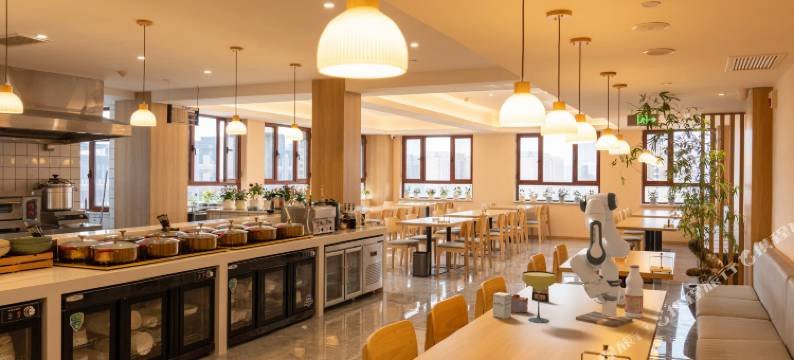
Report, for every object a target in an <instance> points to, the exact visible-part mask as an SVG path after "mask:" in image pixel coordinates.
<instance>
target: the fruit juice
mask: <svg viewBox="0 0 794 360" xmlns="http://www.w3.org/2000/svg"><path fill="white" fill-rule="evenodd" d="M629 269H630V270H629V273H628V275H627V276H626V278H625V285H626V286H625V290H624V291H625V304H624V317H627V318H634V319H638V318H639V319H641V318H643V316H644V288H643V285H644V279H643V278H642V275H641V273H640V265H637V264H630V266H629Z"/></svg>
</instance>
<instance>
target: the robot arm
mask: <svg viewBox="0 0 794 360" xmlns="http://www.w3.org/2000/svg"><path fill="white" fill-rule="evenodd" d="M578 206H579V209H580V211H581V212H582V213H584V222H585V227H586V229H587V230H588V231H589V246H588V248H587V250H586V253H585V254H583V253H582V254H579V253H577V254H575V255H573V256H572V257H571V259H570V261H569V266H570V268H571V269H572V271H573V273H574V274H575V275H576V276H577V277H578V278H579V280H580V281H581V284H582V287H583V290H584V292H585V293H586V295H587V297H588V298H590V299H593V301H595V302H596V303H599V304H602V302H603V303H606V302H607V301H606V299H604V298H603V297H602V296H605V295H609V296H615V297H617V305H619V306H620V305H621V306H623V305H624V306H625V290H624V288H622V287H621V283H622V279H619V273H620V271H619V266H618V264H616V263H615V261H614V260H613V259H612V258H617V259H618V258H626V257H628V256H629V255H630V252H631V245H630V243H629V242H628V241H626V240H625V239H624V238H623V236H622V235H621V234H620V233H619V231H618V230H617V226H616V221H615V216H614V211H615V210H616V209H617V208H618V206H619V199H618V196H617V195H616V193H614V192H599V193H593V194H586V195H585V194H584V195H581V197H580V198H579V202H578ZM596 271H599V272H598V273H596Z"/></svg>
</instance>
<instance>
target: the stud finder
mask: <svg viewBox="0 0 794 360" xmlns="http://www.w3.org/2000/svg"><path fill="white" fill-rule="evenodd" d="M602 297H603V298H604V299H606V301H607V302H606V303H603V302H602V303H601V306H602V307H601V313H602V315H606V316H611V317H614V316H616V315H617V297H615V296H609V295H605V296H602Z"/></svg>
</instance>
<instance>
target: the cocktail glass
mask: <svg viewBox="0 0 794 360" xmlns="http://www.w3.org/2000/svg"><path fill="white" fill-rule="evenodd" d="M521 279H522V281H523V283H525V284H527V285H528V286H530V287H531V288H534V289H535V290H536V291H537V292H538V301H537V304H538V305H537V315H536V317H529V318H527V320H528V321H529V322H530V323H537V324H546V323H549V322H550V321H549V319H547V318H544V317H541V315H540V313H541V312H540V301H539V295H540V292H541V291H542V290H543V289H544V288H546V287H548V288H549V287H551V286H553V285H554V284H555V283H556V282H557V280H558V279H557V274H556V273H555V272H551V271H545V270H528V271H527V270H526V271H523V272H521Z"/></svg>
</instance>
